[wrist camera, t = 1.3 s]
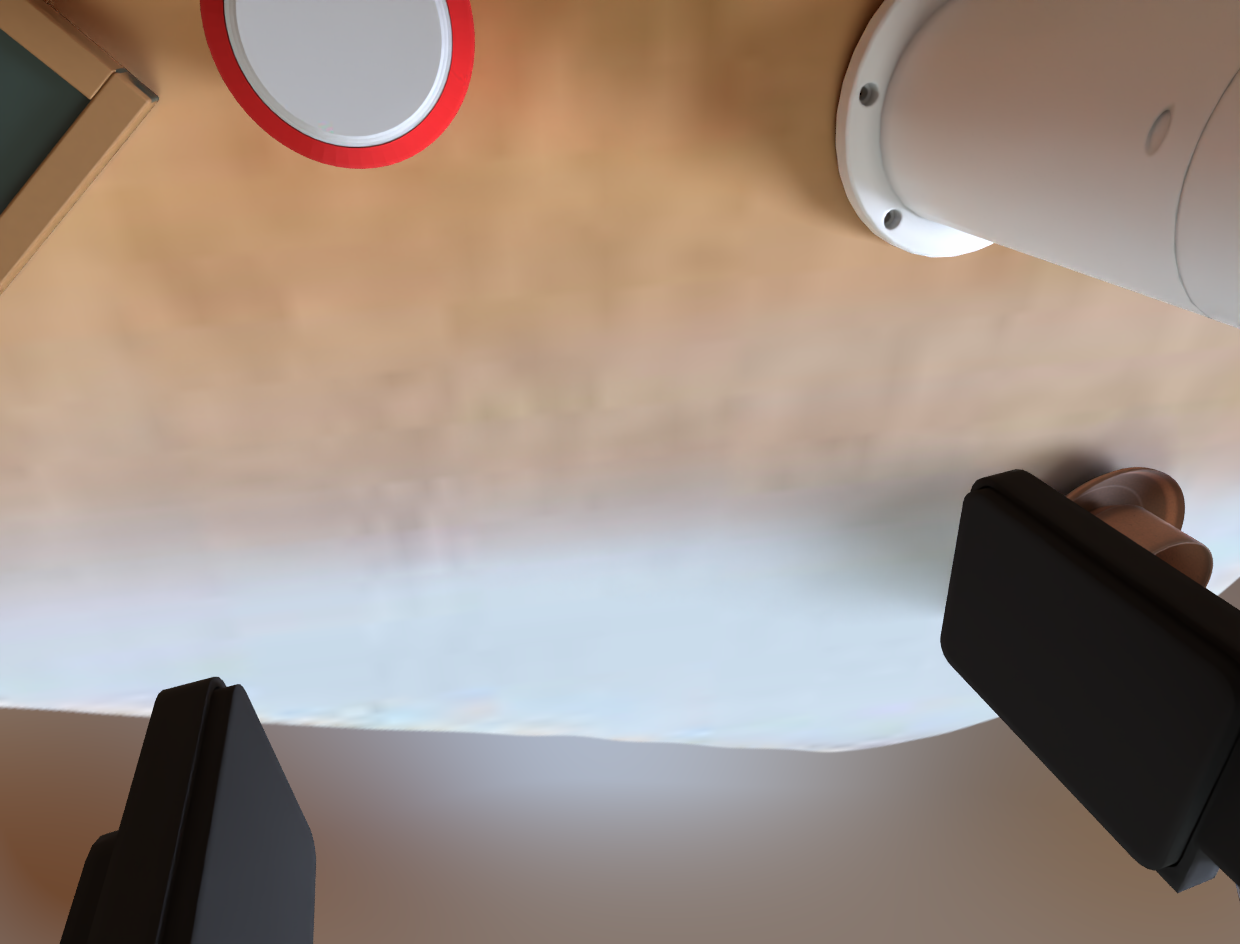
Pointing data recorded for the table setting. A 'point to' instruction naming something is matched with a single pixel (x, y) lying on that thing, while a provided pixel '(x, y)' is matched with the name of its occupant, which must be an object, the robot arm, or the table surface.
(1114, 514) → the cup and saucer
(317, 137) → the beverage can
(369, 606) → the table surface
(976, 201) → the robot arm
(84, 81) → the chalkboard
